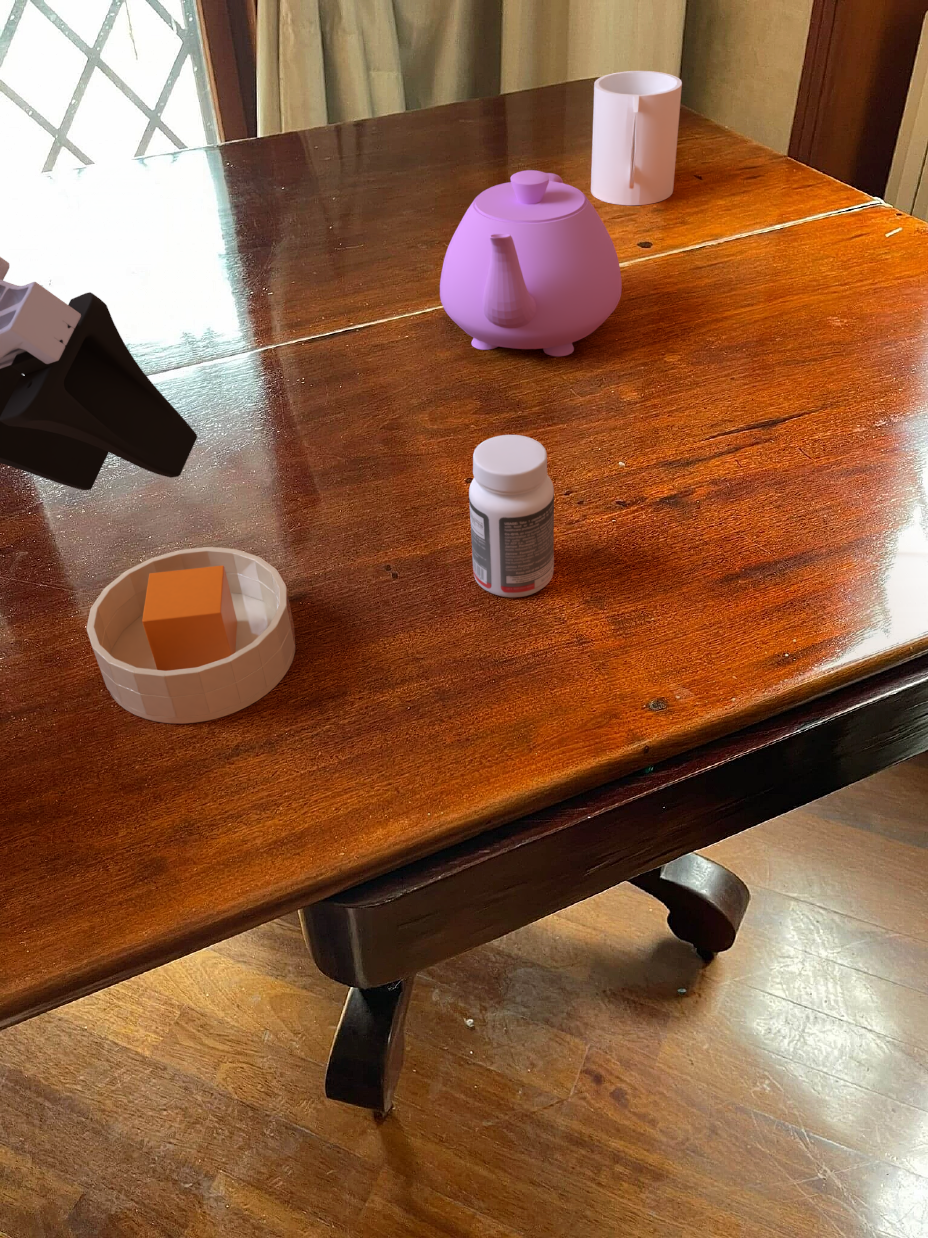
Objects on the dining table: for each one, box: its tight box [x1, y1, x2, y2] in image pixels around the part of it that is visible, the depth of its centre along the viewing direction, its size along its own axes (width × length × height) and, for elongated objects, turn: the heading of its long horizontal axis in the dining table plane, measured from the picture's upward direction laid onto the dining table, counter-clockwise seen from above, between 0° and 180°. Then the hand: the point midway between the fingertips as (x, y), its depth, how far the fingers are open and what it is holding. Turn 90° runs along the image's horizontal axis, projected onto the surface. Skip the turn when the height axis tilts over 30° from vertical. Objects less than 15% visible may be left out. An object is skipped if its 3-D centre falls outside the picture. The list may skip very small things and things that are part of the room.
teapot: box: [439, 169, 622, 357], centre depth 83 cm, size 20×14×12 cm
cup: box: [590, 70, 683, 206], centre depth 105 cm, size 8×12×10 cm
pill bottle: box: [468, 434, 555, 599], centre depth 62 cm, size 5×5×8 cm
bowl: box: [86, 546, 297, 725], centre depth 59 cm, size 10×10×4 cm
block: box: [142, 565, 237, 671], centre depth 58 cm, size 4×4×4 cm
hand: (138, 464), depth 48 cm, fingers open, 7 cm apart
